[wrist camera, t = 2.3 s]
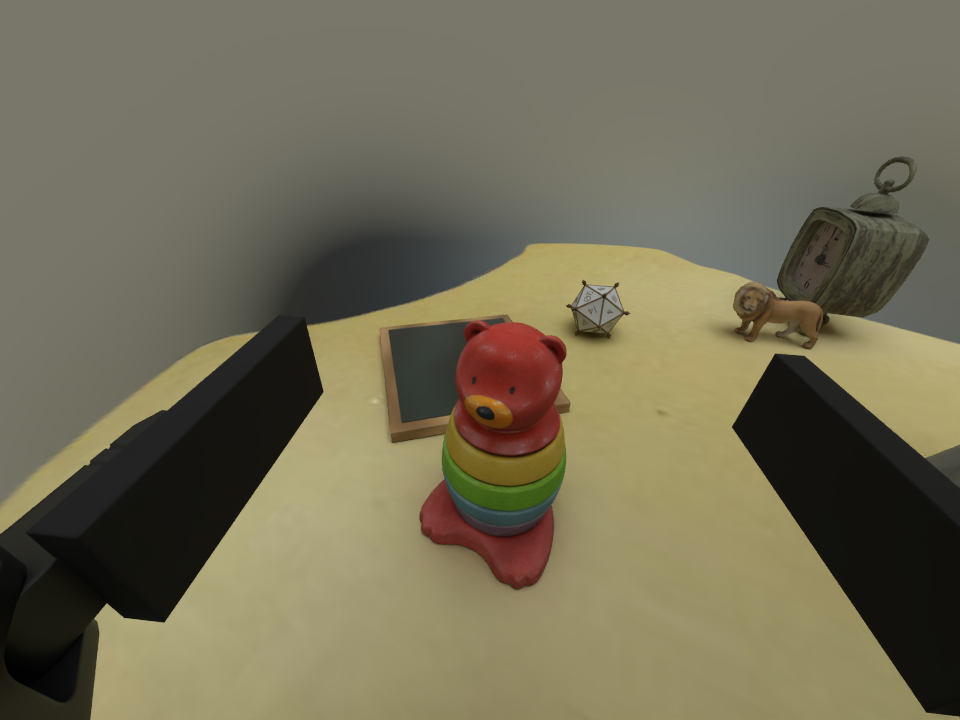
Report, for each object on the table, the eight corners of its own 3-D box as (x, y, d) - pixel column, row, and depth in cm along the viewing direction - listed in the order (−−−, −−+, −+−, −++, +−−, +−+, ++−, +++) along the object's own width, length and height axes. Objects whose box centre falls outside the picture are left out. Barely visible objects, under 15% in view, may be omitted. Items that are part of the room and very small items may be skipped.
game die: (593, 358, 59) (611, 334, 49) (551, 326, 61) (561, 297, 51) (626, 320, 60) (650, 289, 51) (584, 289, 62) (600, 255, 53)
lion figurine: (726, 344, 56) (752, 289, 51) (711, 327, 61) (734, 275, 56) (826, 351, 56) (863, 296, 51) (803, 333, 60) (835, 281, 55)
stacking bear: (409, 529, 30) (384, 344, 20) (471, 447, 38) (475, 283, 27) (531, 601, 26) (577, 415, 16) (574, 494, 33) (623, 321, 23)
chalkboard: (506, 322, 60) (507, 313, 59) (568, 411, 43) (570, 401, 42) (380, 335, 55) (379, 326, 54) (392, 442, 38) (390, 432, 37)
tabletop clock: (762, 301, 70) (840, 150, 56) (817, 307, 68) (911, 154, 54) (796, 338, 58) (904, 160, 44) (862, 348, 57) (997, 166, 43)
